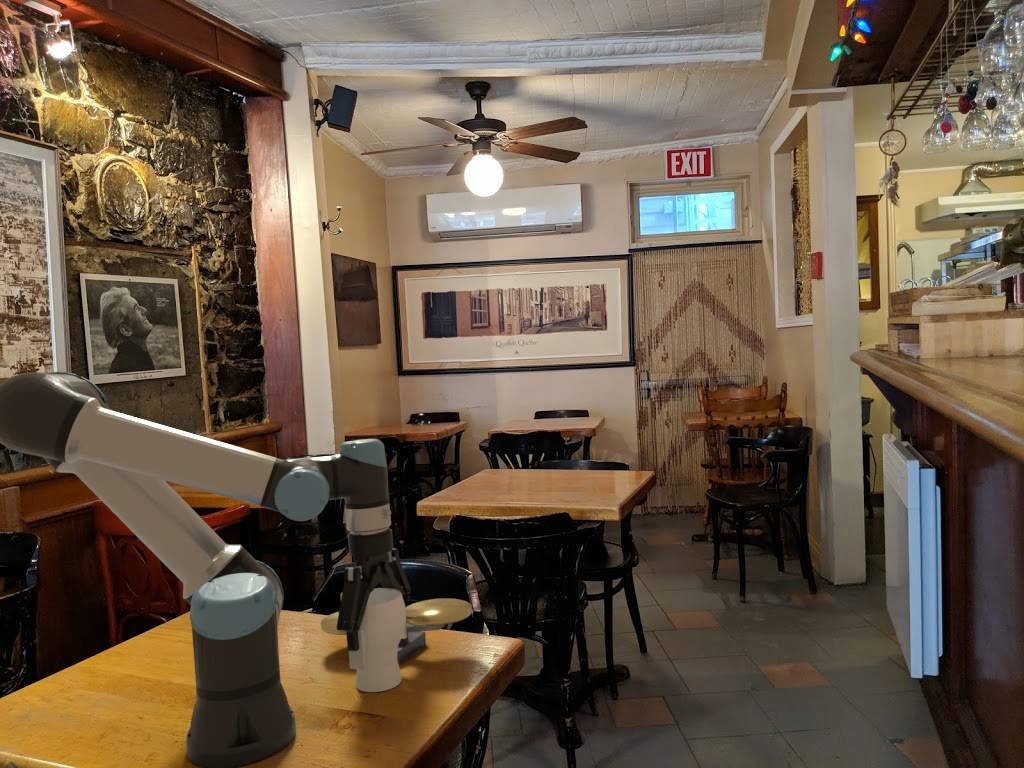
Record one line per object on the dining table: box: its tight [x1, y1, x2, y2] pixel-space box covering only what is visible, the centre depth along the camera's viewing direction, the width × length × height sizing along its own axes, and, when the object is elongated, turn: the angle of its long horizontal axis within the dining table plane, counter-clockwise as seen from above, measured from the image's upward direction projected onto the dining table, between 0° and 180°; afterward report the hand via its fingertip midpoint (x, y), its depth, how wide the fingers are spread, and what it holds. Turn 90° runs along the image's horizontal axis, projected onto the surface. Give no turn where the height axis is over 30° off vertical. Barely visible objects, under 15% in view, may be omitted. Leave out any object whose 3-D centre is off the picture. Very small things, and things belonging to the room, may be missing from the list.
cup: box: [345, 587, 406, 693], centre depth 126 cm, size 11×11×15 cm
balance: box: [320, 592, 473, 665], centre depth 140 cm, size 13×31×12 cm, turn 69°
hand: (380, 652), depth 127 cm, fingers open, 13 cm apart
